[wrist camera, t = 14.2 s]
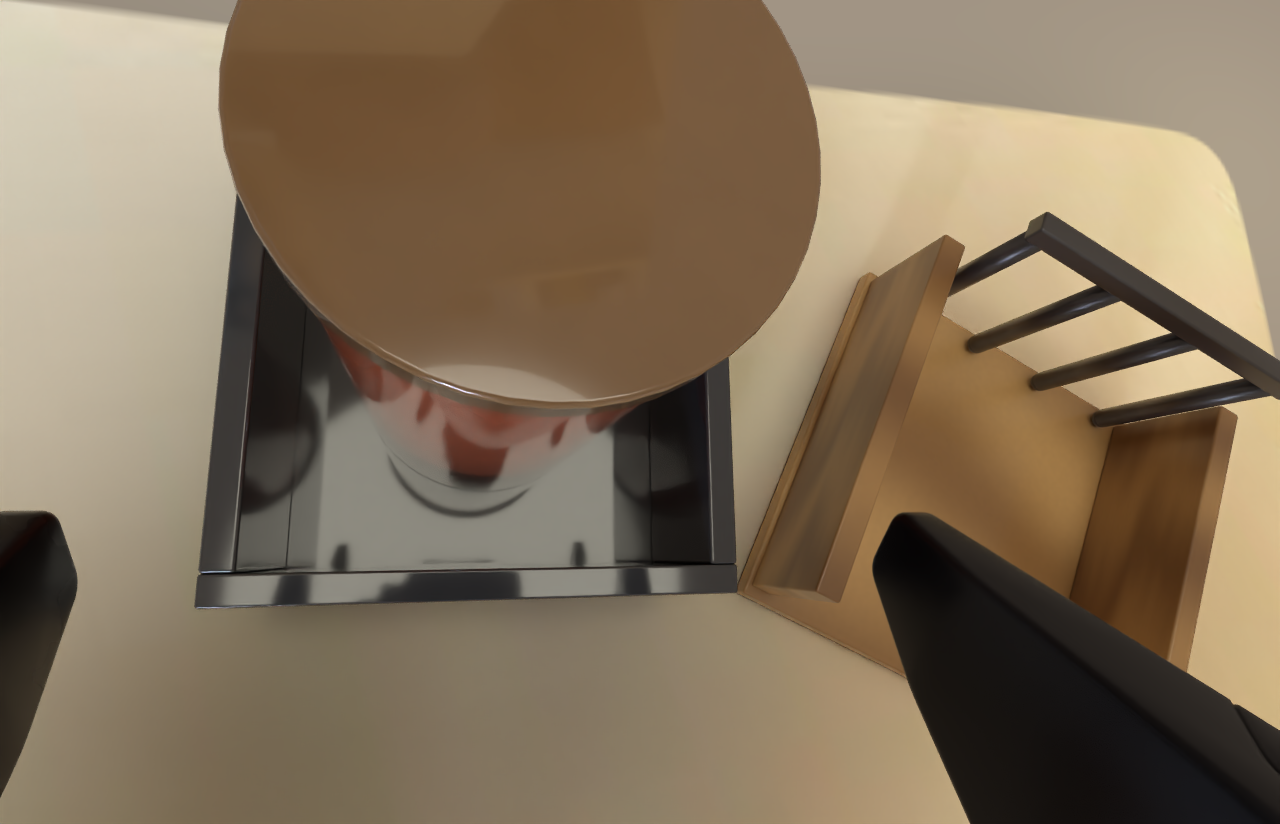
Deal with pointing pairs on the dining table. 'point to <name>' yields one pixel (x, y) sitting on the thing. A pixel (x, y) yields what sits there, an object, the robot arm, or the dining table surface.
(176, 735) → the dining table surface
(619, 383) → the canister
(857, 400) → the dish rack
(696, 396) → the black open box
